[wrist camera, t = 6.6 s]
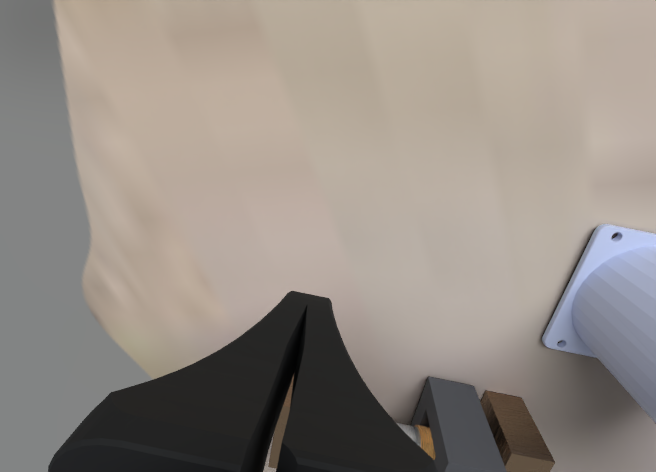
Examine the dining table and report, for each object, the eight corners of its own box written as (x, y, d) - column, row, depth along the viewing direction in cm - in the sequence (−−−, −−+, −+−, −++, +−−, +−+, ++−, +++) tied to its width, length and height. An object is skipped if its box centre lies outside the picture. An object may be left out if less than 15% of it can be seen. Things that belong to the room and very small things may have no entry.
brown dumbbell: (521, 397, 25) (556, 464, 20) (495, 450, 26) (521, 521, 22) (293, 350, 25) (278, 407, 20) (283, 406, 27) (267, 468, 22)
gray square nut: (474, 386, 24) (507, 474, 18) (446, 450, 26) (469, 547, 21) (428, 376, 24) (448, 462, 18) (404, 441, 26) (416, 536, 21)
